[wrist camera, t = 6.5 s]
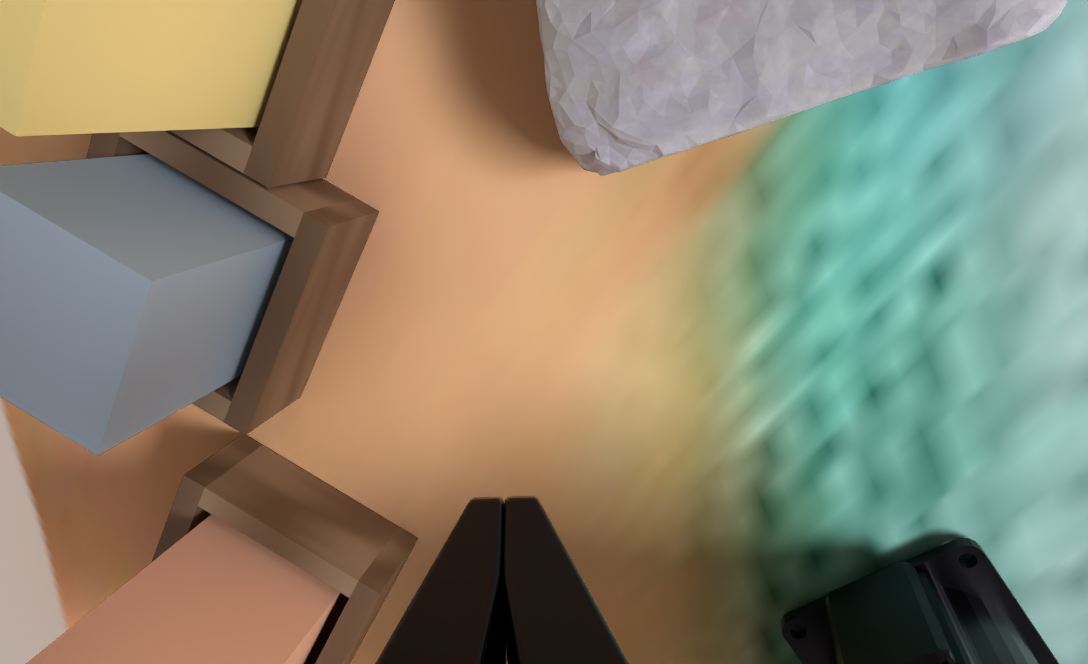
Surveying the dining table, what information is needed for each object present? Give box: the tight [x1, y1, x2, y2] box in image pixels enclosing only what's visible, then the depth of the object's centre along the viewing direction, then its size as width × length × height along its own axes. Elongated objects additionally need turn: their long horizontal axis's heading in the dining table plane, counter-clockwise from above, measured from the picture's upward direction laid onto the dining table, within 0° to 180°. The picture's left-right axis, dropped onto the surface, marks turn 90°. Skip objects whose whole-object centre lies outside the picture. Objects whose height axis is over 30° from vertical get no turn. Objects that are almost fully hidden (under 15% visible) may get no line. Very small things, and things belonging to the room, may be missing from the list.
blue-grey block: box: [0, 154, 294, 456], centre depth 20 cm, size 5×5×8 cm
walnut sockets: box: [86, 0, 418, 664], centre depth 23 cm, size 15×25×3 cm, turn 152°
